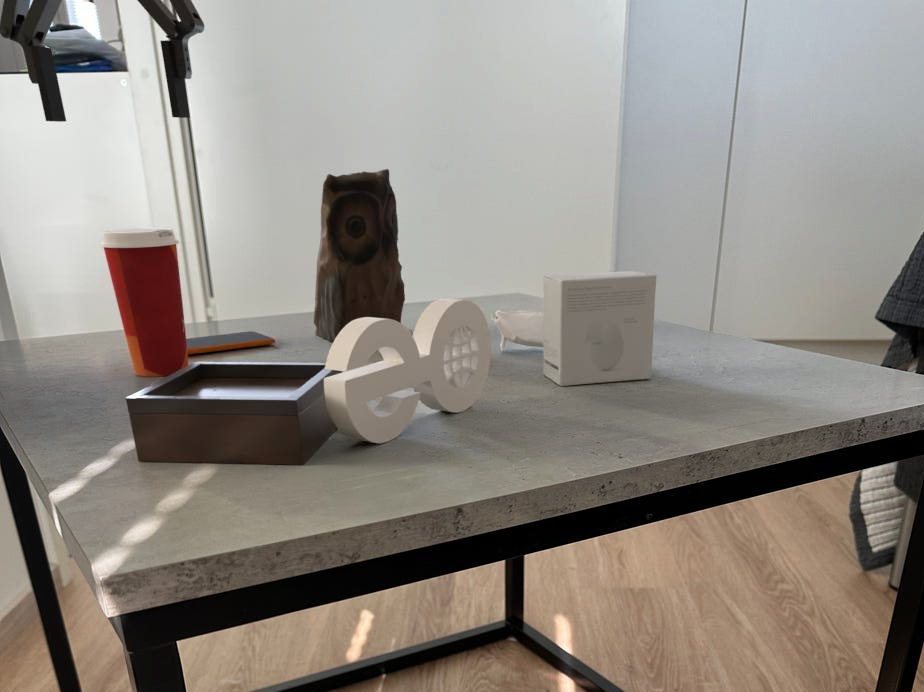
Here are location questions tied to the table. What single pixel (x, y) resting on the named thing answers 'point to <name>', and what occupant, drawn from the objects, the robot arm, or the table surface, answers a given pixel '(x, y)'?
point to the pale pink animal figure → (520, 327)
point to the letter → (406, 368)
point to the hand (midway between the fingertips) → (118, 119)
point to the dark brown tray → (233, 414)
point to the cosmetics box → (598, 327)
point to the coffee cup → (148, 297)
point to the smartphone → (227, 342)
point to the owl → (357, 253)
